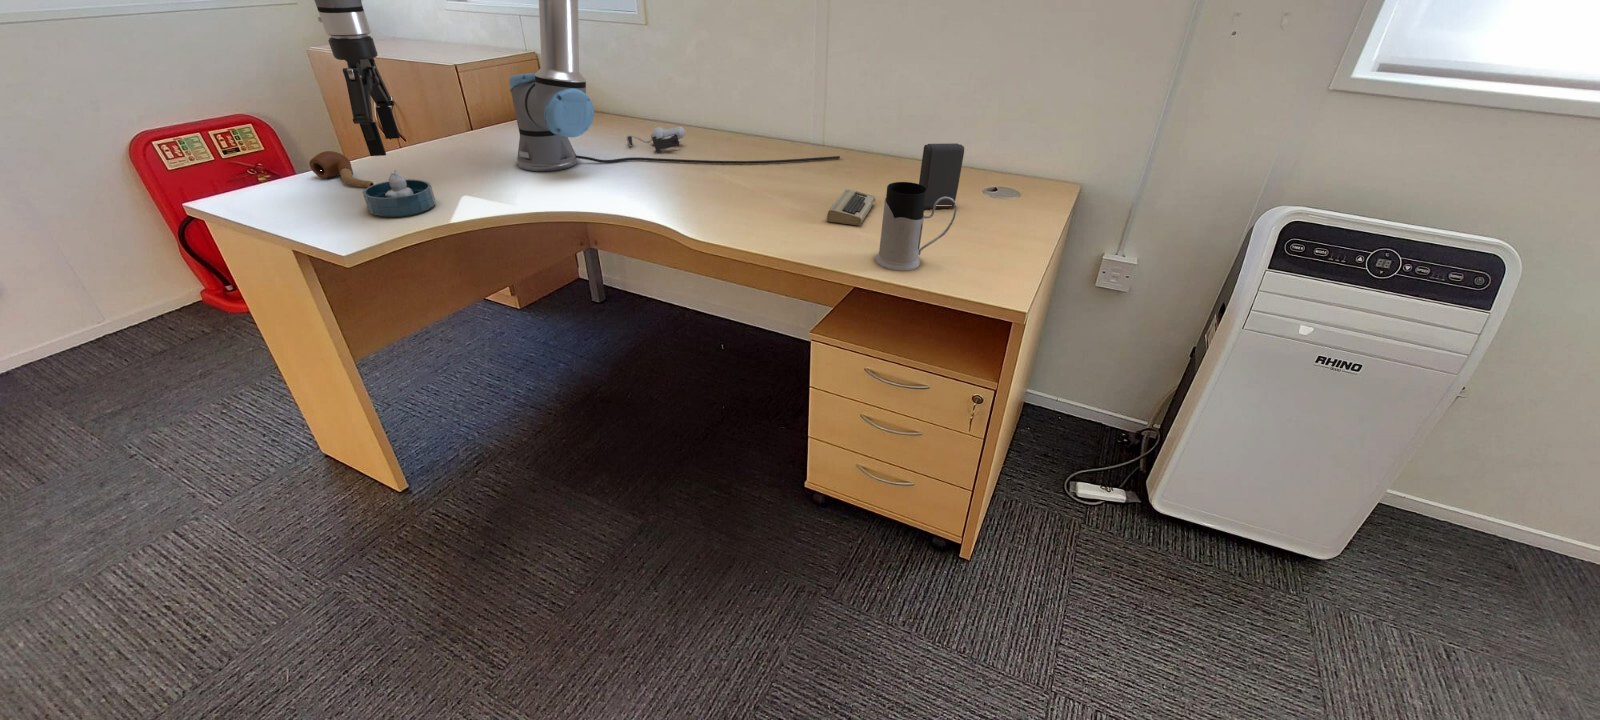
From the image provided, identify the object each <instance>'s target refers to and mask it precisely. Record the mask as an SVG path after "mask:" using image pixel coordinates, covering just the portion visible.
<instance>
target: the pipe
mask: <svg viewBox="0 0 1600 720" xmlns="http://www.w3.org/2000/svg"><path fill="white" fill-rule="evenodd" d="M308 163H309V164H308V165H309V168H310V169H311V171H312V172H313V174H315V175H316V176H318V177H319V178H321V179H329V178H333V177H337V176H340V177H341V180H342V181H343V182H344V184H345V183H346V184H347V185H353V186H357V187H364V188H368V187H370V186H372V185H375V184H374V182H373V181H371V180H366V179H365V180H364V179H359V178H355V177H353V175H354V171H353V168H352V163H351V161H350V159H349V158H348V157H347V156H345V155H344V154H342V153H340V152H337V151H333V150H327V151H326V150H325V151H322V152H320V153H317V154H316V155H315V156H313V157H312V158H311V159H310V160H309V162H308ZM320 170H322V171H320Z"/></svg>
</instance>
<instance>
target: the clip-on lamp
mask: <svg viewBox="0 0 1600 720" xmlns="http://www.w3.org/2000/svg"><path fill="white" fill-rule="evenodd" d="M685 136H686V131H685V129H684V127H682V126H676V127H671V128H663V127H658V126H657V127H655V128H653V129H652V132H651V134H650V140H648V141H647V140H644V139H642V138H640V137H638V136H635V135H633V134H628V135H627V136H626V142H627V144H628V146H629V148H630V147H631V148H632V147H633V138H634V139H637V140H638V141H641V142H643V143H646V144H649V143H651V142H652V143H653V146H654V149H655V153H656V154H660V153H661V152H662V150H665V149H669V148H674V147H679V146H680V144H683V142H682V140H680V139H684V138H685Z"/></svg>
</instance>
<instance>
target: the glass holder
mask: <svg viewBox="0 0 1600 720" xmlns="http://www.w3.org/2000/svg"><path fill="white" fill-rule="evenodd" d="M885 193H886V194H885V195H886V196H885V197H884V202H883V203H884V204H883V214H882V221H881V230H880V231H881V232H880V240H879V250H878V254H877V256H876V257H875V261H876V263H877V265H879V266H880V267H883V268H884V269H887V270H891V271H900V272H903V271H904V272H905V271H912V270H915V269H917V268H918V267H919V266H920V259H919V256H920V255H921V252H922V251H924V249H926V248H928V247H929V246H931V245H932V244H933V243H936V242H937V241H938V240H940V239H941V238H942V237H944V236H945V235H946V234H947V232H948V231H949V230H950V228H951V226H952V225H953V224H954V221H955V219H956V215H957V207H958V206H957V202H956V200H955V201H954V200H953V199H952V198H950V197H941V198H939V199H938V200H937V201H936V202H935V204H934V206H933V209H931V214H929V215H924V213H925V209H924V208H925V201H926V194H927V188H926V187H924V186H922V185H920V184H919V183H916V182H912V181H911V182H910V181H895V182H891V183H889V184H887V186H886V192H885ZM943 199H949V200H951V201H952V202H953V203H954V211H953V214H952V218H951V219H950V221H949V222H950V223H949V224H948V226H947V227H946V228H945V229H944V230H943V232H942V233H940V234H939V235H938V236H936V237H934V238H933V239H932V240H930V241H928V242H927V243H925V244H924V245H923V246H922V247H921V243H922V235H923V234H922V233H923V229H924V219H931V218H933V216H934V214H935V211H936V209H935V207H936V205H937V203H938V202H939V201H941V200H943Z"/></svg>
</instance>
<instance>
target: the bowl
mask: <svg viewBox="0 0 1600 720" xmlns="http://www.w3.org/2000/svg"><path fill="white" fill-rule="evenodd" d="M405 180H406V184H407V186H406V187H408V188H410V189H411V190H412V191H413V194H412V195H408V196H402V197H393V198H387V197H386V196H385V194H386V193H387V191H389V190H391V189H392V188H391V187H390V184H389V180H388V181H382V182H379V183H375V184H374V185H372V186H370V187H365V188H364V190H363V191H362V196H363V198H364V201H365V204H366V206H367V209H368V212H369V213H370V214H372V215H375V216H379V217H384V218H403V217H410V216H415V215H419V214H422V213H425V212H427V211H429V210H430V209H431V208H432V207H434V206H435V205H436V202H437V200H436V197H435V194H434V190H433V186H432V184H431V183H430V182H428V181H426V180H421V179H409V178H407V179H405Z"/></svg>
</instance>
